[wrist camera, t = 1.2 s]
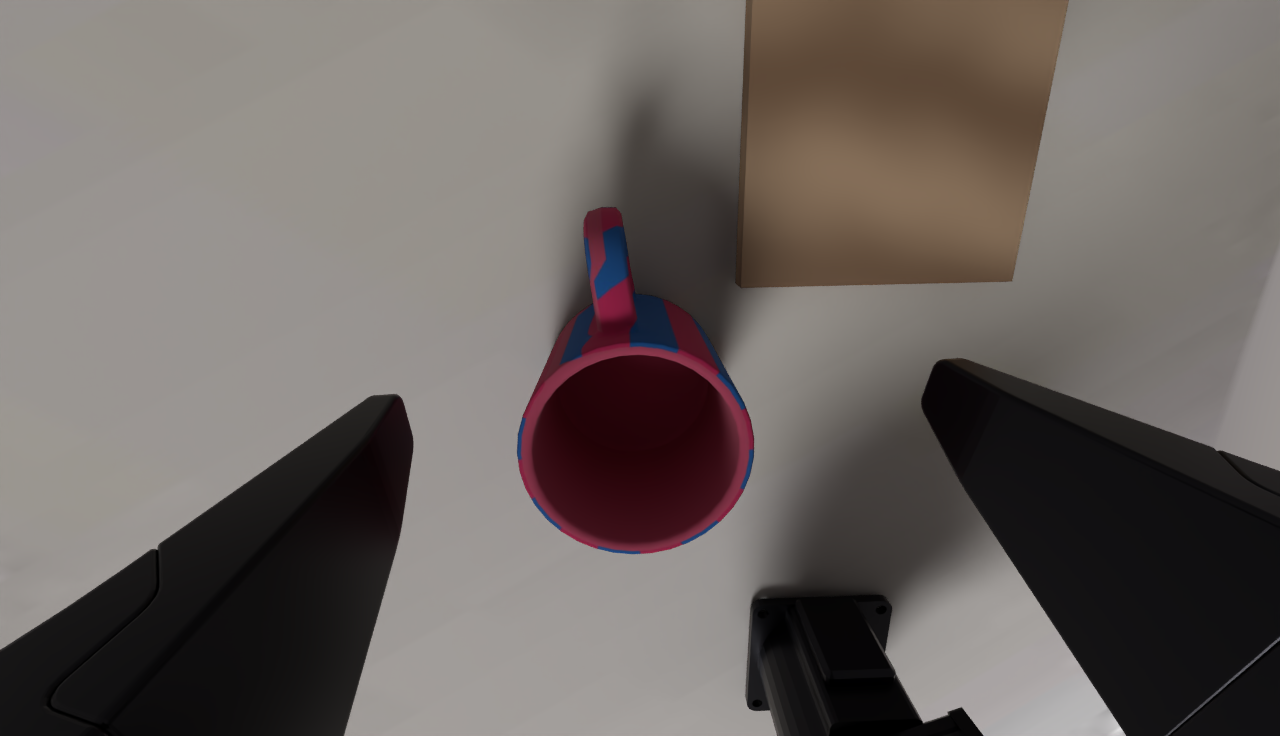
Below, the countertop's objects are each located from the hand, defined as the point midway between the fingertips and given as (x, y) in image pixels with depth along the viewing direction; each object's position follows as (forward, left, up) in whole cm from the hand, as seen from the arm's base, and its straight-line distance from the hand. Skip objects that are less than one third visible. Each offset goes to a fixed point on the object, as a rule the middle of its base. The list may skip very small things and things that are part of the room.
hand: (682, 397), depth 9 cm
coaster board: (+6, -8, -12) cm, 16 cm away
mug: (-2, +1, -12) cm, 12 cm away
